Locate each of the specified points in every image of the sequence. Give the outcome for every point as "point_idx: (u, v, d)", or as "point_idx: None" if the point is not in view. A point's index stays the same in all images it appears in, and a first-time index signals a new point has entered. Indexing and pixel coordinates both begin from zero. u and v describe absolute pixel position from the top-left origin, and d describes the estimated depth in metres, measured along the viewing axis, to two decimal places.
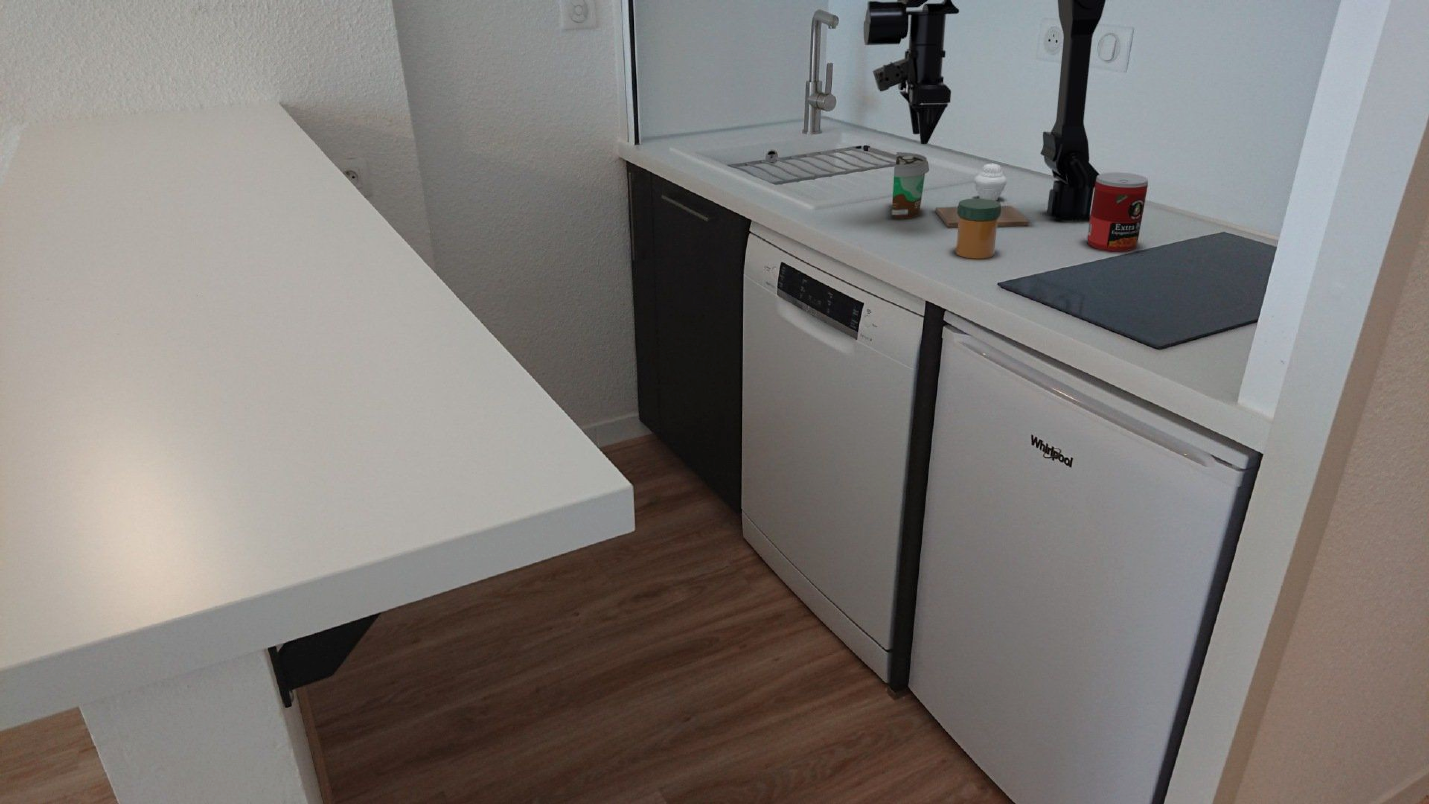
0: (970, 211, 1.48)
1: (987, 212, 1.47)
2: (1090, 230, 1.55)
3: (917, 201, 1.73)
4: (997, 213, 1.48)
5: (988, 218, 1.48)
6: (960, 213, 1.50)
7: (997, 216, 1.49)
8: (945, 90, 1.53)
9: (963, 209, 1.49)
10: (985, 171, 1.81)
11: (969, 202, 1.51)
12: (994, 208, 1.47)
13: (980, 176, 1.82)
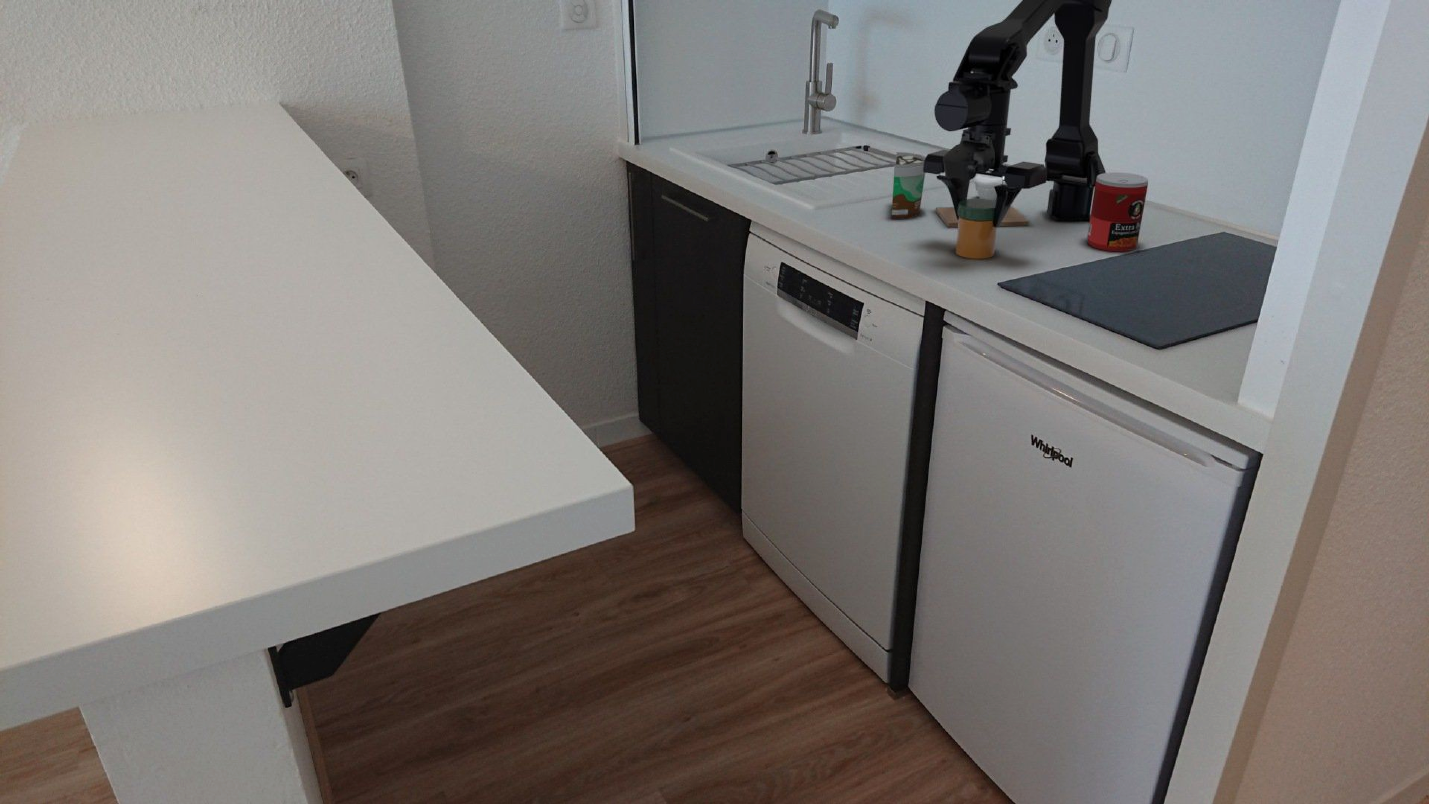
0: (970, 211, 1.48)
1: (987, 212, 1.47)
2: (1090, 230, 1.55)
3: (917, 201, 1.73)
4: None
5: (988, 218, 1.48)
6: (960, 213, 1.50)
7: None
8: (1046, 170, 1.43)
9: (963, 209, 1.49)
10: None
11: (969, 202, 1.51)
12: (994, 208, 1.47)
13: (980, 176, 1.82)
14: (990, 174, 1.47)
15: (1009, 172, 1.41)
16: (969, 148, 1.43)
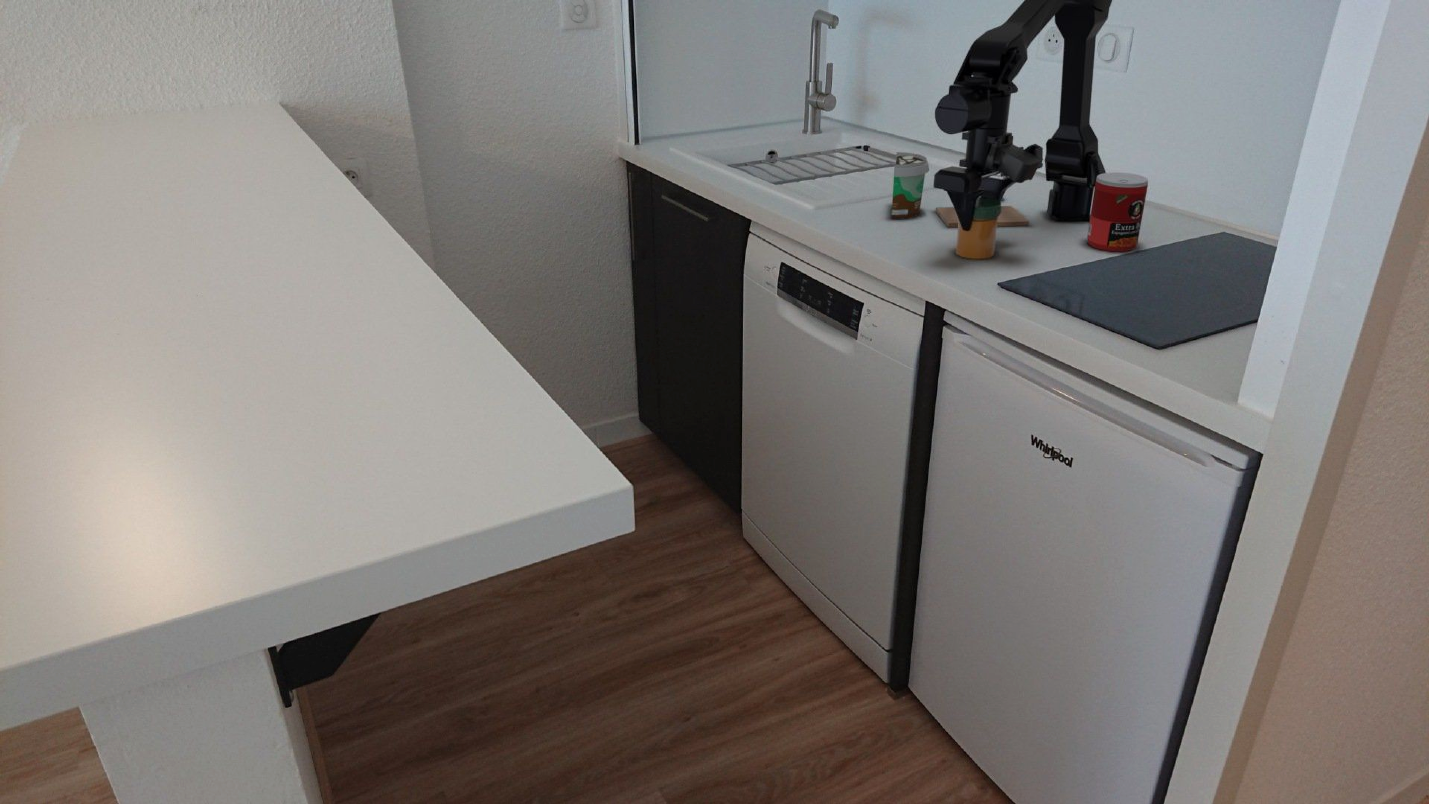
0: (999, 208, 1.48)
1: None
2: (1090, 230, 1.55)
3: (917, 201, 1.73)
4: None
5: None
6: (989, 215, 1.48)
7: None
8: None
9: (993, 210, 1.47)
10: None
11: (977, 204, 1.49)
12: None
13: None
14: (990, 174, 1.49)
15: None
16: (1015, 150, 1.43)
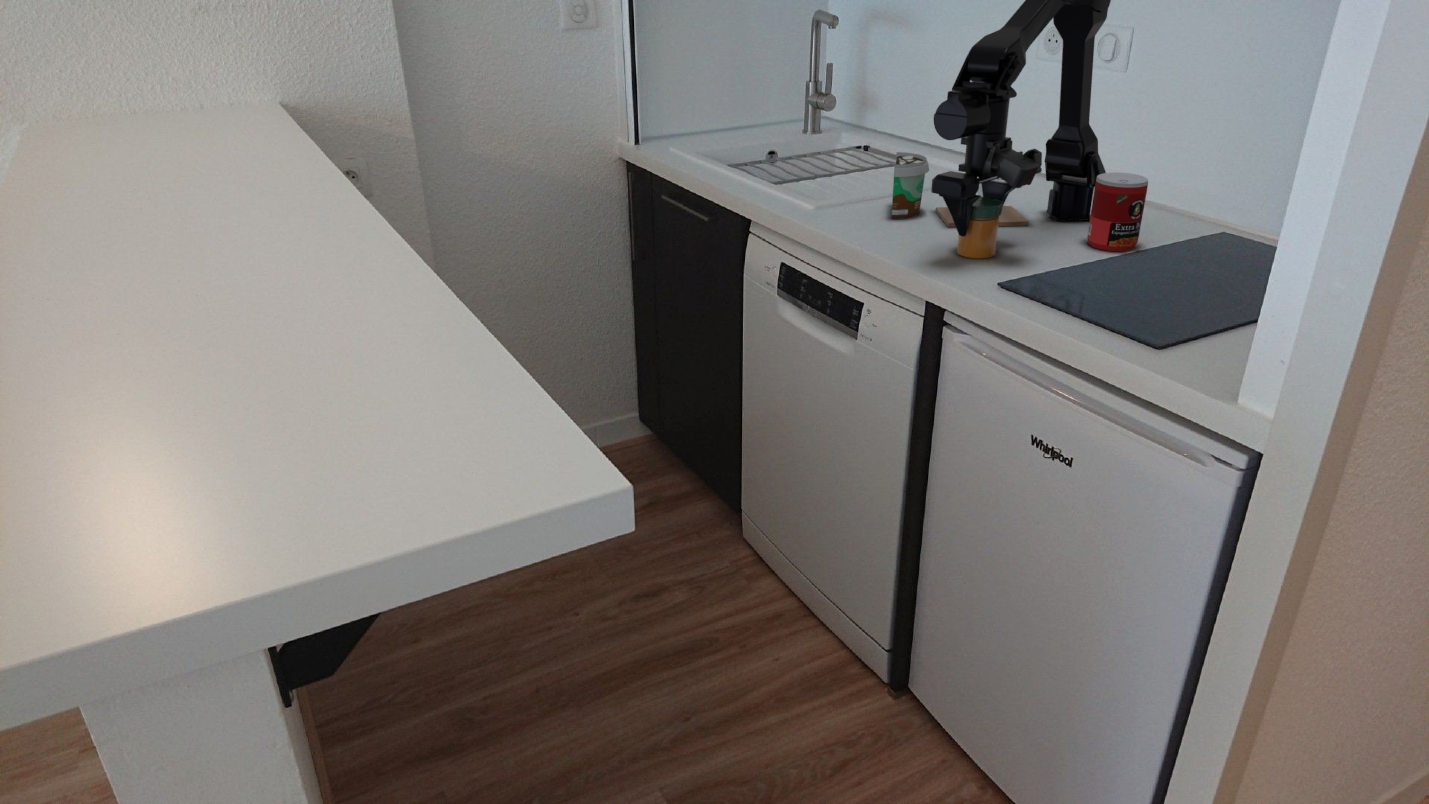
0: (1000, 207, 1.48)
1: None
2: (1090, 230, 1.55)
3: (917, 201, 1.73)
4: None
5: None
6: (990, 214, 1.48)
7: None
8: None
9: (994, 209, 1.48)
10: None
11: (978, 203, 1.49)
12: None
13: None
14: (987, 180, 1.49)
15: None
16: (1014, 155, 1.43)
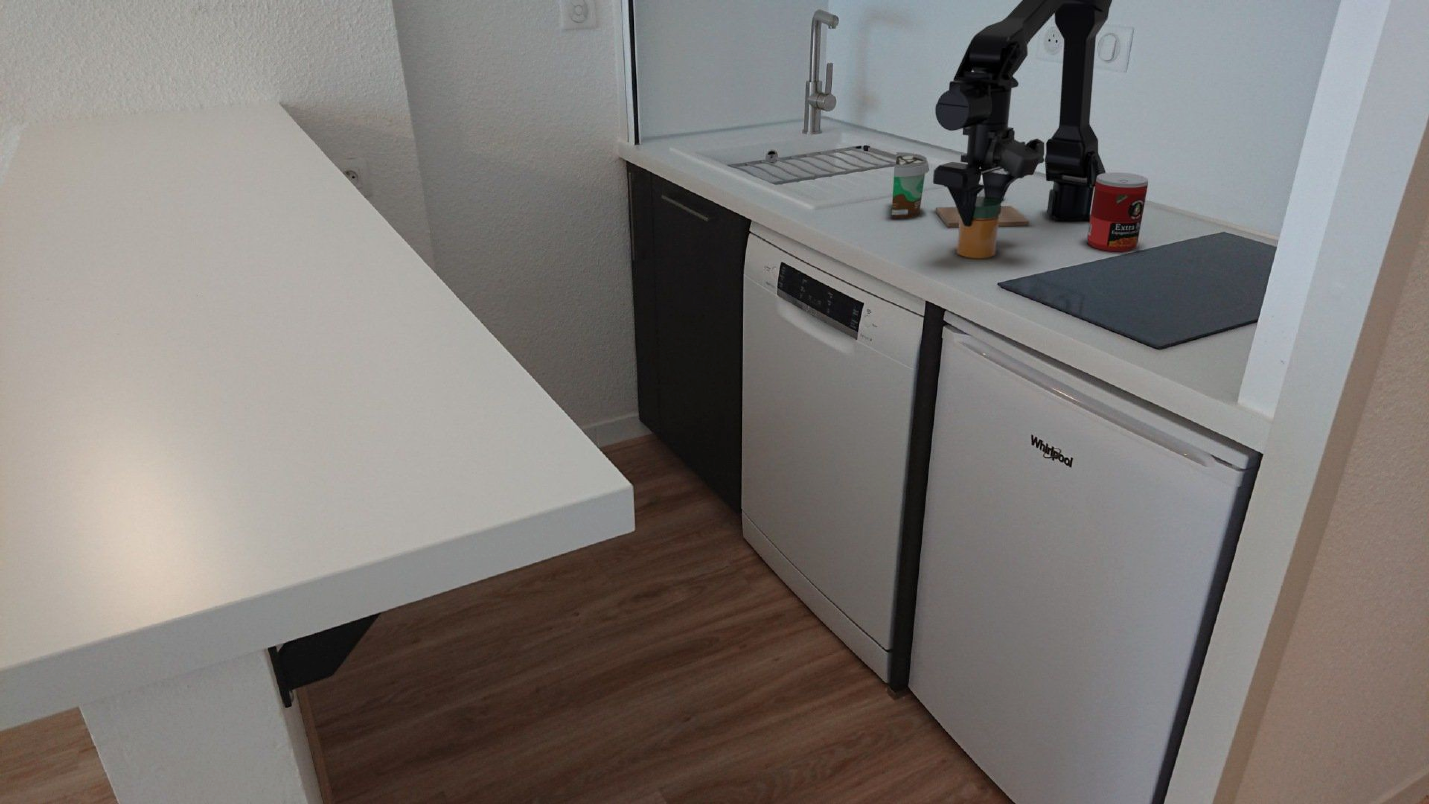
0: None
1: None
2: (1090, 230, 1.55)
3: (917, 201, 1.73)
4: None
5: None
6: None
7: None
8: None
9: None
10: None
11: (989, 202, 1.49)
12: None
13: None
14: (992, 170, 1.48)
15: None
16: (1016, 146, 1.43)
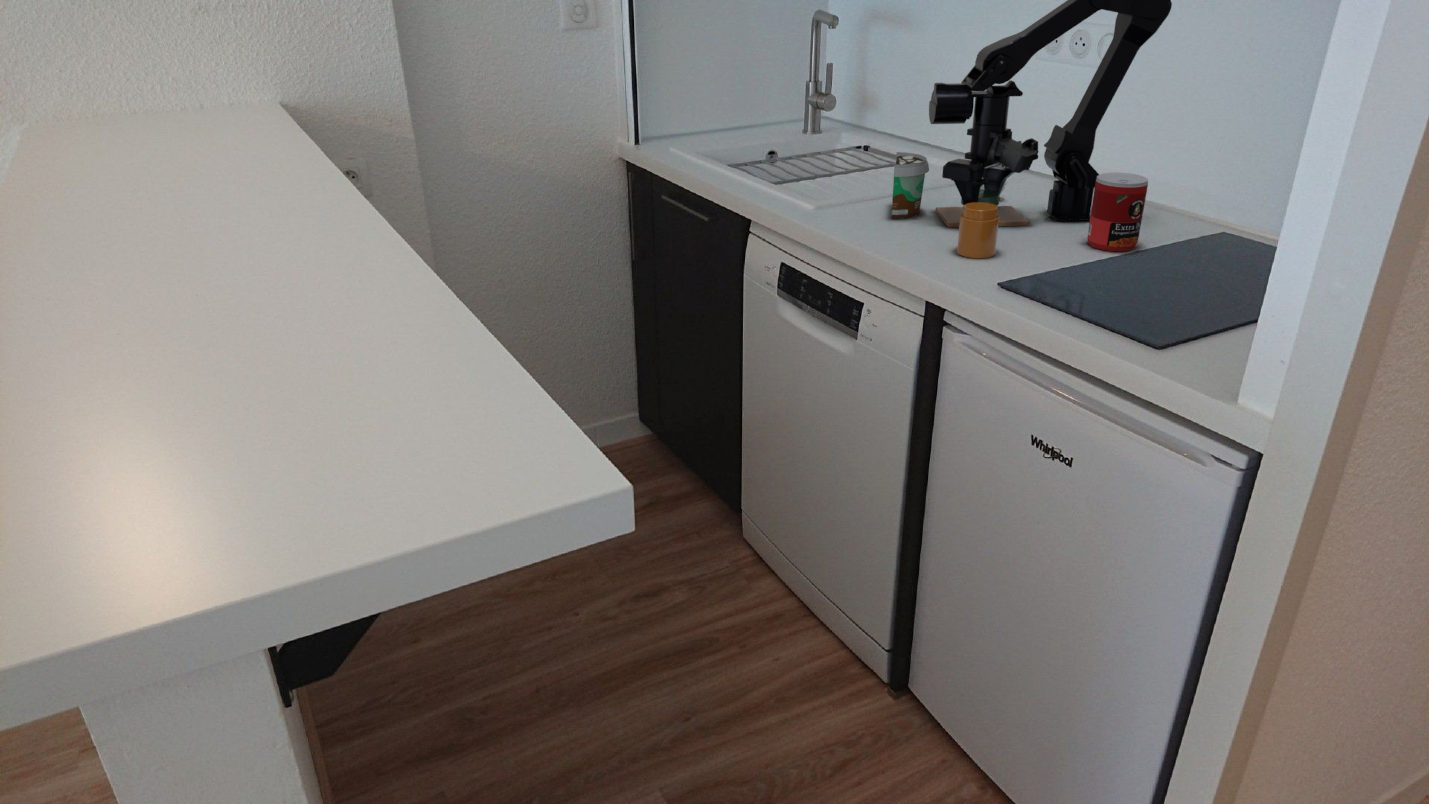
0: None
1: None
2: (1090, 230, 1.55)
3: (917, 201, 1.73)
4: None
5: None
6: None
7: None
8: None
9: None
10: None
11: (989, 194, 1.70)
12: None
13: None
14: (992, 166, 1.69)
15: None
16: (1014, 144, 1.63)
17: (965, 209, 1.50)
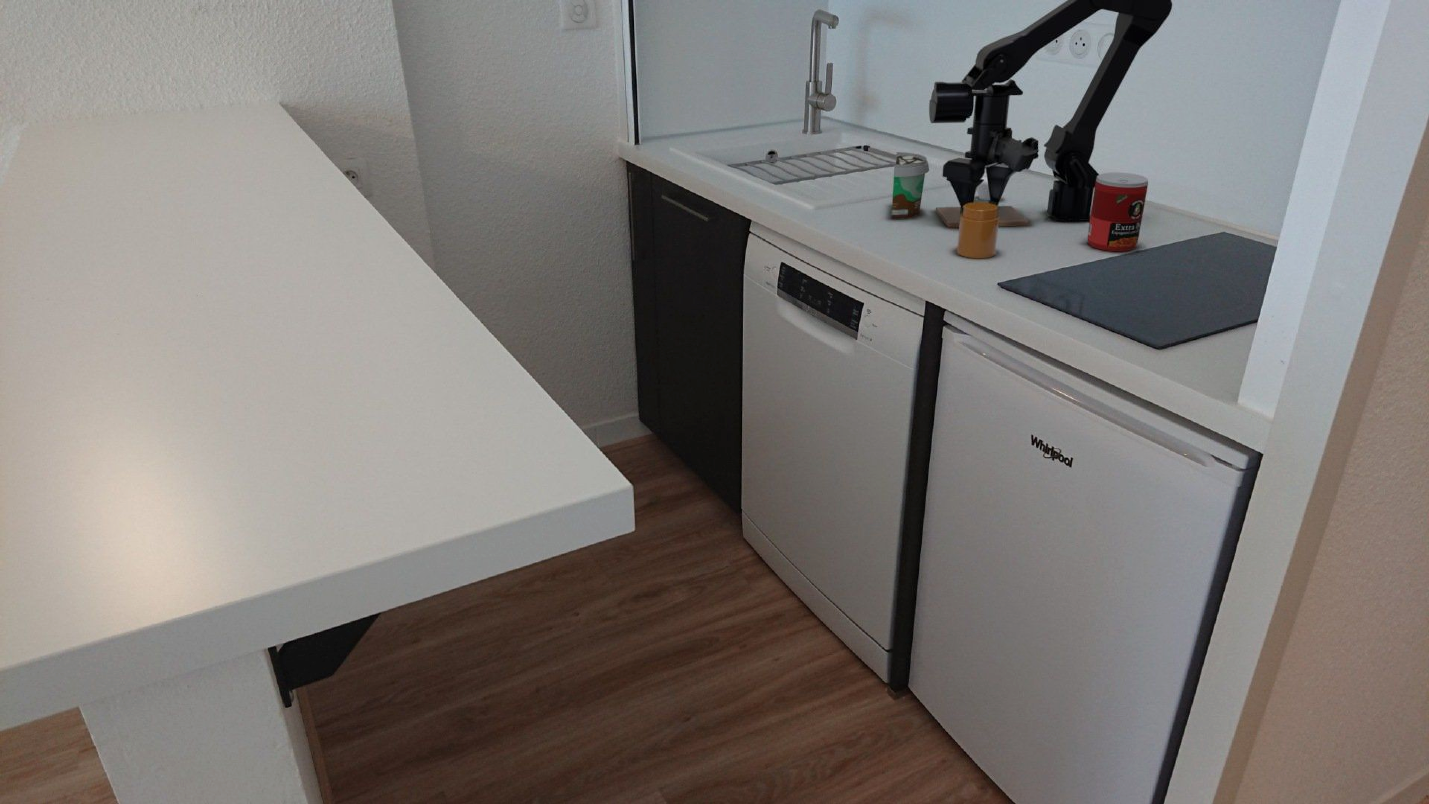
0: None
1: None
2: (1090, 230, 1.55)
3: (917, 201, 1.73)
4: None
5: None
6: None
7: None
8: None
9: None
10: (985, 171, 1.81)
11: None
12: None
13: None
14: None
15: None
16: (1014, 143, 1.63)
17: (965, 209, 1.50)
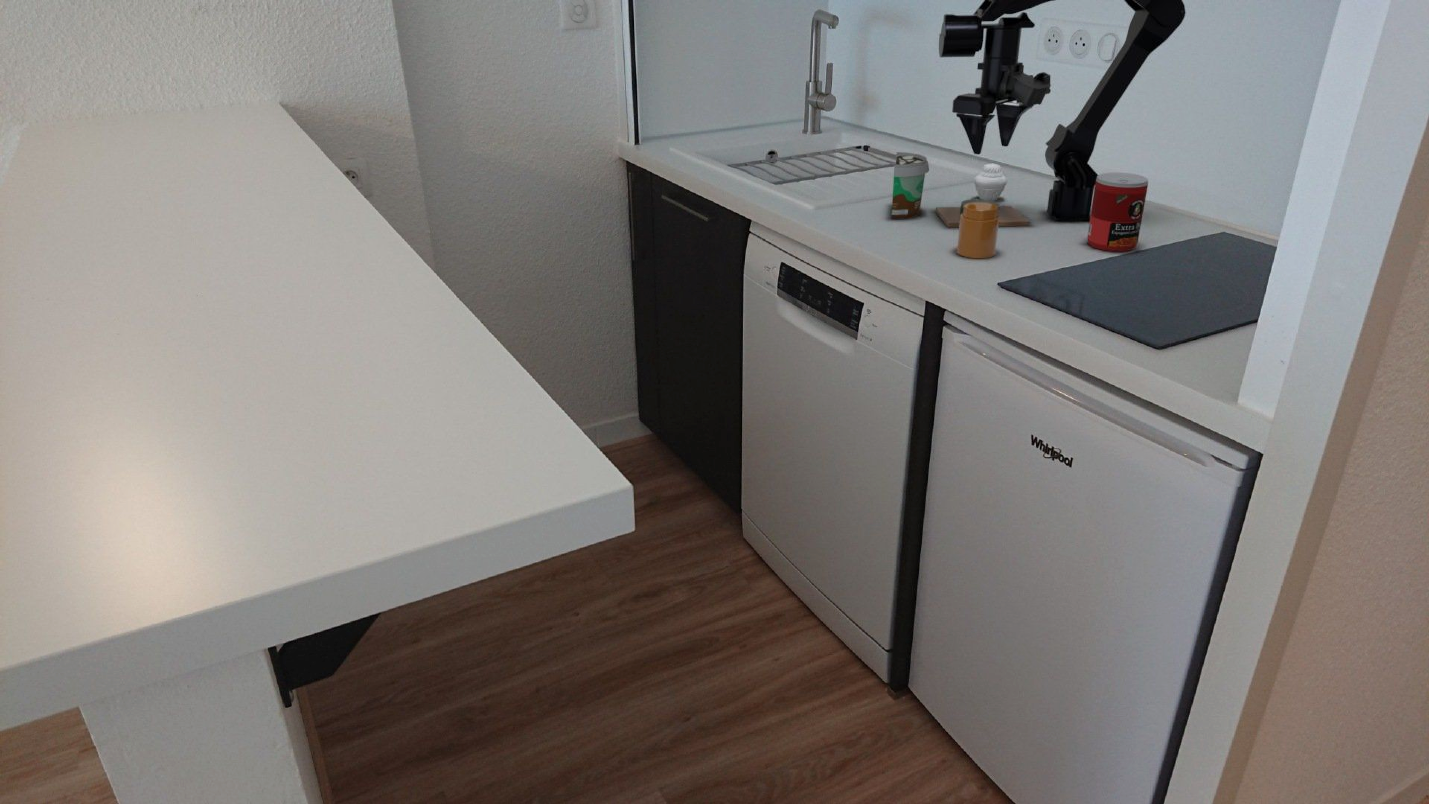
0: None
1: None
2: (1090, 230, 1.55)
3: (917, 201, 1.73)
4: None
5: None
6: None
7: None
8: None
9: None
10: (985, 171, 1.81)
11: None
12: None
13: (980, 176, 1.82)
14: (999, 103, 1.64)
15: None
16: (1026, 78, 1.59)
17: (965, 209, 1.50)
